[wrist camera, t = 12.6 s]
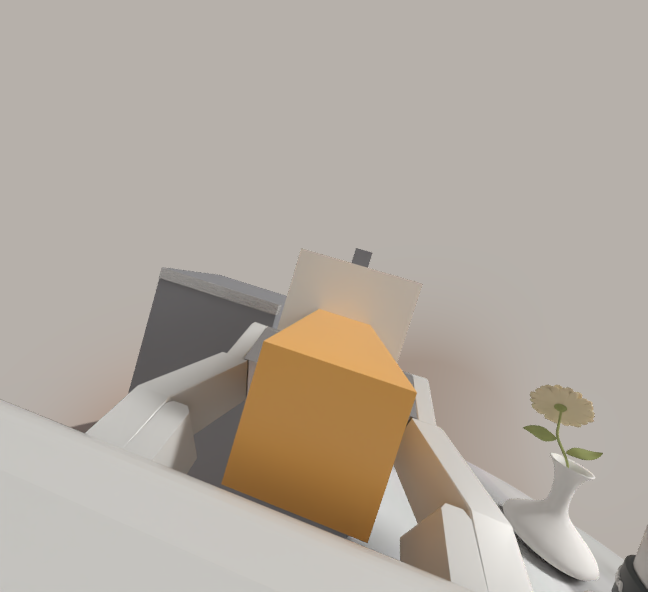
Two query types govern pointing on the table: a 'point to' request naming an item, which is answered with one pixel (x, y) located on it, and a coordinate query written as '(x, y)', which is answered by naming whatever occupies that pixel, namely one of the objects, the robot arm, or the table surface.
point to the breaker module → (328, 396)
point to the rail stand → (206, 351)
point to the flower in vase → (557, 489)
